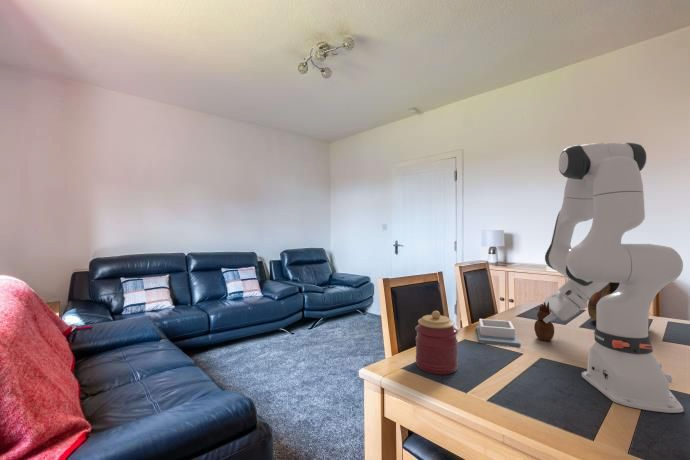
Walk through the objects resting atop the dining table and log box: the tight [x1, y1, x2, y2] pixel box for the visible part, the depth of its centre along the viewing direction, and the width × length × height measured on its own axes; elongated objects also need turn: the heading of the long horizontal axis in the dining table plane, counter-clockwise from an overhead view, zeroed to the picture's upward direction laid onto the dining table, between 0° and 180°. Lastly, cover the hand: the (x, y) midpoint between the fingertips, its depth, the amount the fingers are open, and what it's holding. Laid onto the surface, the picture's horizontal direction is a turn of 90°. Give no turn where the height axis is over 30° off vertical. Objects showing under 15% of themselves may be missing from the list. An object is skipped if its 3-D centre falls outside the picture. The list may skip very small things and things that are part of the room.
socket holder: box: [476, 318, 521, 348], centre depth 129 cm, size 18×14×5 cm
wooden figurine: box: [533, 301, 555, 342], centre depth 125 cm, size 7×6×15 cm
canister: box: [415, 310, 459, 375], centre depth 103 cm, size 13×13×18 cm
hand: (542, 319), depth 125 cm, fingers closed on wooden figurine, 5 cm apart
